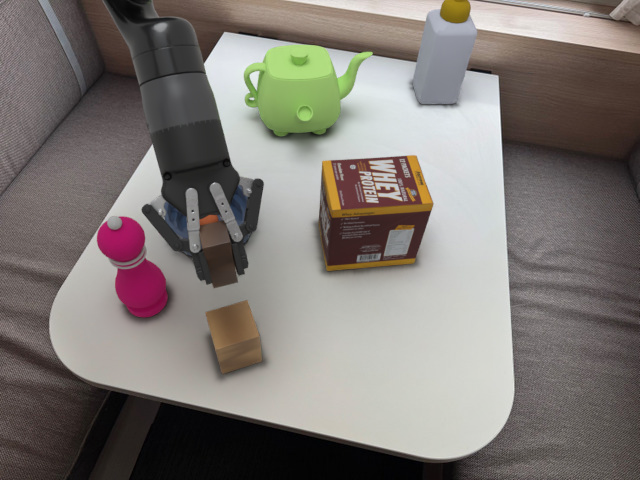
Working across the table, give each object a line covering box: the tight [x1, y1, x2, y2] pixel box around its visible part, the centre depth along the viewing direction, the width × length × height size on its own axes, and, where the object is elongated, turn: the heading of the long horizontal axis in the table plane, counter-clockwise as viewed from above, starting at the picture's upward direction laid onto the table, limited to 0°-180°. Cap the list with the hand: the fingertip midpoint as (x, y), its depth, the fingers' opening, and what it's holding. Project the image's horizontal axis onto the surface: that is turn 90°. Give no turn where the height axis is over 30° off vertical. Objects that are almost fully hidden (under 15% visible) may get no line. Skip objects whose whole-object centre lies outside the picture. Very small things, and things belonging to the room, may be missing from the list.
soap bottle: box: [411, 0, 478, 105], centre depth 107 cm, size 9×9×25 cm
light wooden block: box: [204, 299, 263, 375], centre depth 74 cm, size 6×6×8 cm
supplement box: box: [317, 154, 435, 272], centre depth 84 cm, size 10×15×16 cm
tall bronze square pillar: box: [199, 220, 239, 289], centre depth 59 cm, size 3×3×9 cm
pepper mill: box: [96, 215, 168, 318], centre depth 73 cm, size 7×7×20 cm
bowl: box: [164, 185, 252, 257], centre depth 89 cm, size 14×14×6 cm
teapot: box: [243, 44, 374, 137], centre depth 102 cm, size 25×22×16 cm
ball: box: [199, 215, 219, 225], centre depth 88 cm, size 4×4×4 cm
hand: (225, 277), depth 58 cm, fingers closed on tall bronze square pillar, 3 cm apart
